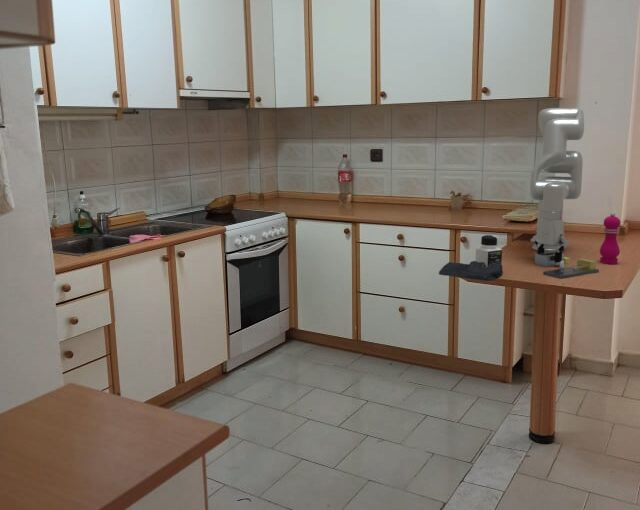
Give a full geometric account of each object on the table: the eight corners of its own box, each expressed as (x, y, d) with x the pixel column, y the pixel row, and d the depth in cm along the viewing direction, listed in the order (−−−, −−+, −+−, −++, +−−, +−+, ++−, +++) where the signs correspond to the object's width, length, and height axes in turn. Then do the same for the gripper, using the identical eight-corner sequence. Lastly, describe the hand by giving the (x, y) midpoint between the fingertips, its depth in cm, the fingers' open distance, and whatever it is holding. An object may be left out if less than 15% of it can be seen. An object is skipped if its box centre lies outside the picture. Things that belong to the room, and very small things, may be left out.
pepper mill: (620, 264, 249) (625, 213, 245) (600, 264, 250) (605, 213, 246) (616, 260, 256) (620, 211, 251) (596, 260, 257) (600, 210, 253)
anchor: (552, 261, 256) (553, 254, 256) (558, 260, 258) (558, 253, 257) (564, 263, 251) (565, 257, 251) (570, 263, 253) (570, 256, 252)
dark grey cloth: (449, 267, 249) (450, 255, 248) (506, 274, 238) (507, 261, 237) (435, 275, 236) (435, 263, 235) (494, 282, 225) (495, 269, 224)
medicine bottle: (487, 269, 244) (488, 238, 241) (474, 265, 250) (476, 235, 247) (501, 267, 247) (503, 236, 244) (488, 263, 253) (490, 233, 251)
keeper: (543, 274, 235) (543, 260, 234) (580, 267, 244) (581, 255, 243) (560, 278, 228) (561, 264, 227) (598, 272, 237) (599, 258, 236)
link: (534, 263, 252) (535, 253, 251) (551, 261, 256) (551, 251, 255) (546, 266, 247) (547, 256, 246) (563, 264, 251) (563, 254, 250)
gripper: (527, 213, 253) (525, 257, 257) (563, 219, 238) (560, 265, 242) (541, 212, 257) (539, 255, 260) (577, 217, 242) (574, 263, 245)
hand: (549, 259), depth 251 cm, fingers open, 8 cm apart
